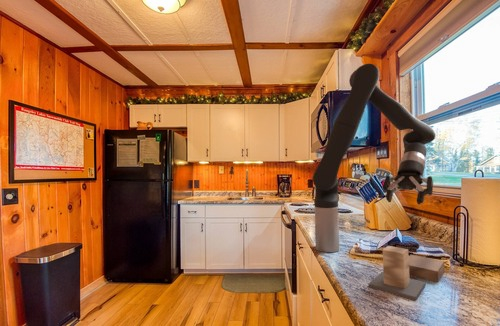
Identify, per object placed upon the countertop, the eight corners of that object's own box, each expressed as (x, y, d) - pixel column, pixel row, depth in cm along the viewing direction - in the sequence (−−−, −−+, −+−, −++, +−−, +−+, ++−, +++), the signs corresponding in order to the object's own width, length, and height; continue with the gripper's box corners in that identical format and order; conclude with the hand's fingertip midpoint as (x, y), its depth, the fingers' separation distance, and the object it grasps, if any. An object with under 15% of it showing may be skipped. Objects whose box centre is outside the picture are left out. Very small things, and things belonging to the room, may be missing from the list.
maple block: (383, 283, 69) (382, 249, 69) (389, 277, 72) (388, 245, 73) (404, 288, 65) (403, 253, 66) (409, 282, 69) (408, 249, 69)
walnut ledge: (401, 273, 77) (401, 263, 77) (410, 263, 85) (410, 254, 85) (438, 282, 71) (437, 271, 71) (444, 270, 78) (444, 261, 78)
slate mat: (368, 286, 69) (368, 283, 69) (382, 274, 77) (382, 271, 77) (415, 300, 61) (415, 297, 61) (425, 285, 69) (425, 282, 69)
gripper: (387, 159, 94) (376, 192, 85) (434, 158, 84) (427, 195, 75) (392, 173, 97) (382, 207, 89) (437, 174, 87) (431, 211, 79)
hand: (403, 201), depth 82 cm, fingers open, 8 cm apart
